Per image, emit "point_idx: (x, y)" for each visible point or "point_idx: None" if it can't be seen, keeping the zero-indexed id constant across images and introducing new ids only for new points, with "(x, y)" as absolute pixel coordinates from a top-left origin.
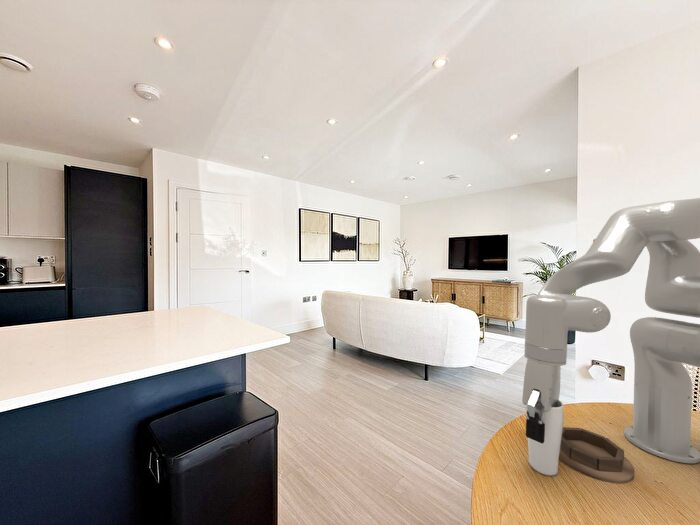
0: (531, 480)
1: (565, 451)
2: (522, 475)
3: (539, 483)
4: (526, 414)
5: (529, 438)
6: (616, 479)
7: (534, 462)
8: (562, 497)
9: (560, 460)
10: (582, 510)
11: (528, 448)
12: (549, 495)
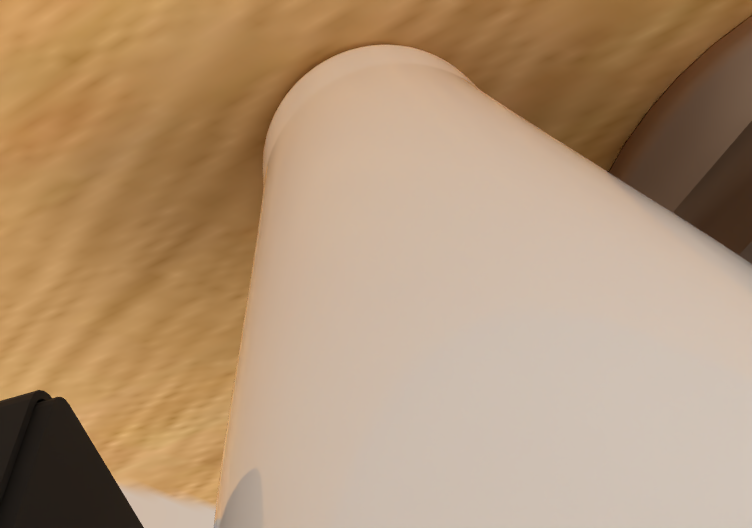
0: (121, 198)
1: (709, 200)
2: (94, 128)
3: (157, 243)
4: (309, 401)
5: (269, 223)
6: None
7: (263, 175)
8: (190, 372)
9: (609, 172)
10: (204, 458)
11: (312, 114)
12: (113, 334)
